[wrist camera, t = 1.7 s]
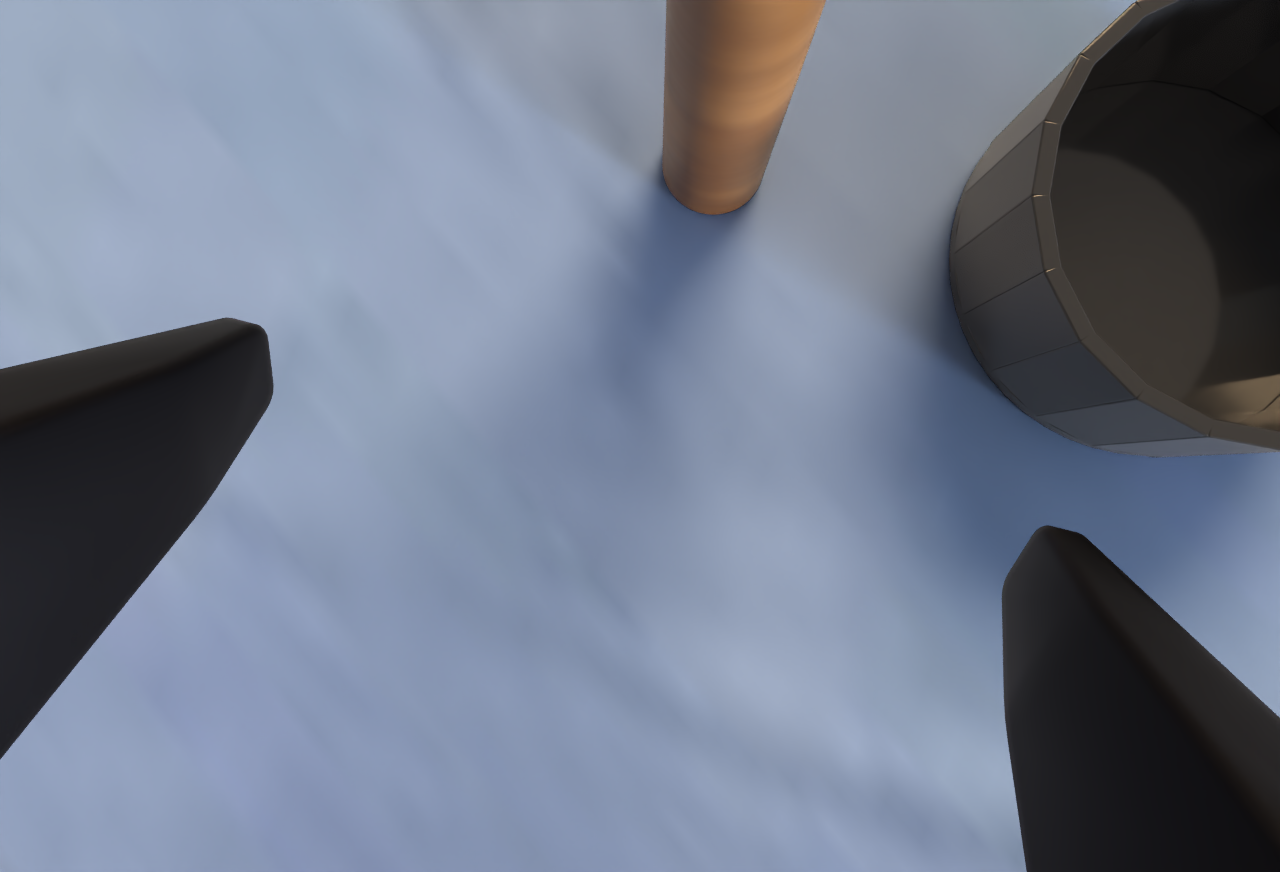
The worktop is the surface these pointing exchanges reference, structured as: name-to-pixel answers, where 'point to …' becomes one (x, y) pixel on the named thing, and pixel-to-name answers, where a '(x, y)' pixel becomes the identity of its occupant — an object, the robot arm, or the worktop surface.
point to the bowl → (1137, 238)
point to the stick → (728, 93)
